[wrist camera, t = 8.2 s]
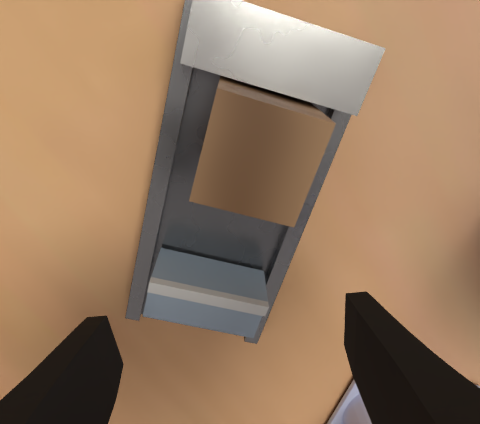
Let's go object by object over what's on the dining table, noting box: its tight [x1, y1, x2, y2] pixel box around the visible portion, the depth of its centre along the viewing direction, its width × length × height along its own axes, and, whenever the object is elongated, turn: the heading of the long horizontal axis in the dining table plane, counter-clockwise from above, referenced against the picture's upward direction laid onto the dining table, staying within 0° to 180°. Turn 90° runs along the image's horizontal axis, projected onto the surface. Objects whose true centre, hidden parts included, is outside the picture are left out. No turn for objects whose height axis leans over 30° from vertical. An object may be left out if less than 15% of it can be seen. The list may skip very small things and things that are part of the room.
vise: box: [125, 0, 385, 344], centre depth 18 cm, size 8×17×3 cm, turn 164°
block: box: [189, 76, 336, 227], centre depth 14 cm, size 4×4×5 cm
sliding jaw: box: [143, 248, 269, 338], centre depth 19 cm, size 6×2×3 cm, turn 74°
